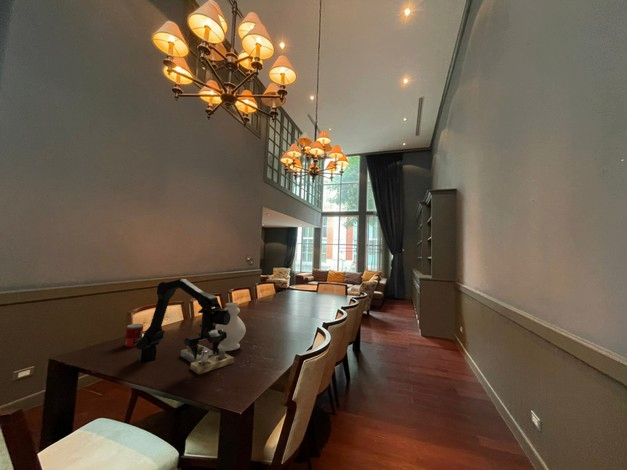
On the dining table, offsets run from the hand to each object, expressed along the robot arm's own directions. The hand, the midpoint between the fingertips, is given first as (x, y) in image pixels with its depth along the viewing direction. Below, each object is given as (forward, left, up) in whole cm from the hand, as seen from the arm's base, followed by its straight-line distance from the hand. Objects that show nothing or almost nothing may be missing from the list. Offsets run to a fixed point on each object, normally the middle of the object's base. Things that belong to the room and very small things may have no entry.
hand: (204, 356), depth 119 cm
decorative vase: (+25, +17, -6) cm, 30 cm away
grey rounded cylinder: (0, 0, -6) cm, 6 cm away
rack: (+5, 0, -6) cm, 7 cm away
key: (+5, +19, -2) cm, 19 cm away
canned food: (-12, +56, -6) cm, 58 cm away
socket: (+5, +14, -6) cm, 16 cm away
